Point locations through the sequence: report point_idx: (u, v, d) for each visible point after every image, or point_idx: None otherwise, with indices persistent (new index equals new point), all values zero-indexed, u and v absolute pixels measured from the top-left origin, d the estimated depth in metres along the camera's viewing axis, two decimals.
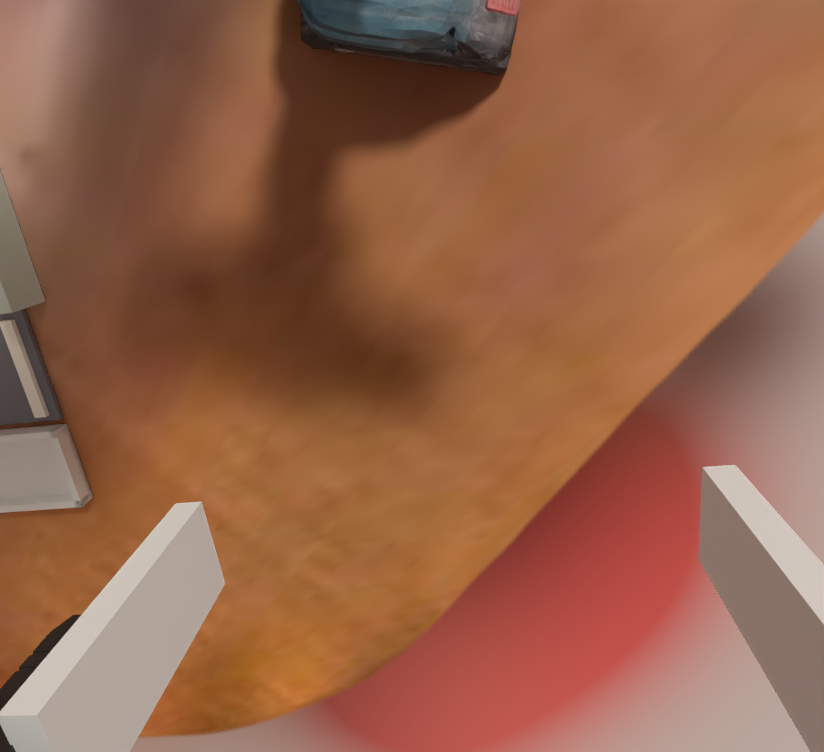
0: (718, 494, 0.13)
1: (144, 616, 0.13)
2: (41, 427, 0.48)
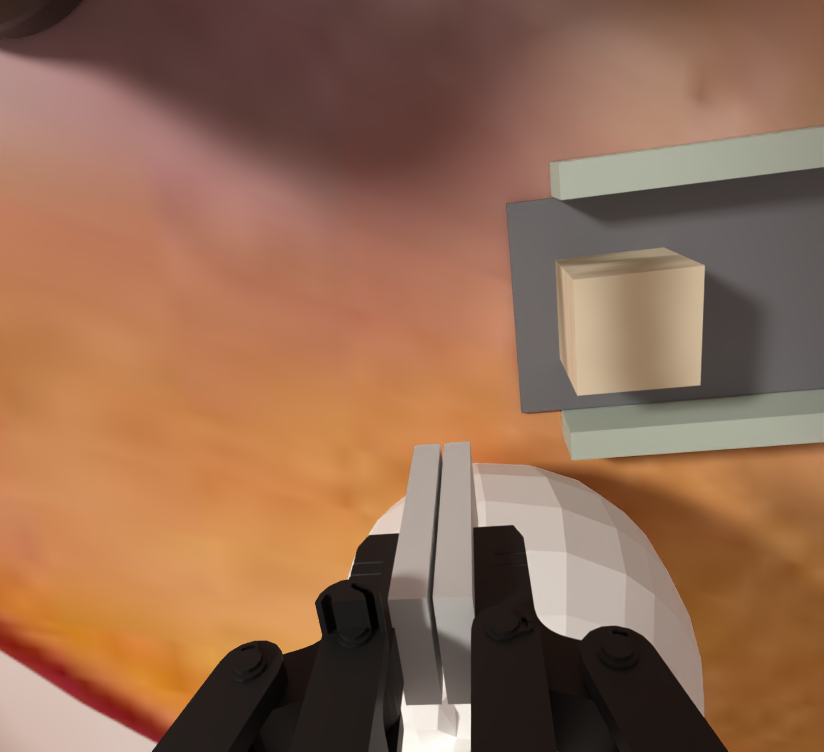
0: (443, 464, 0.16)
1: None
2: None
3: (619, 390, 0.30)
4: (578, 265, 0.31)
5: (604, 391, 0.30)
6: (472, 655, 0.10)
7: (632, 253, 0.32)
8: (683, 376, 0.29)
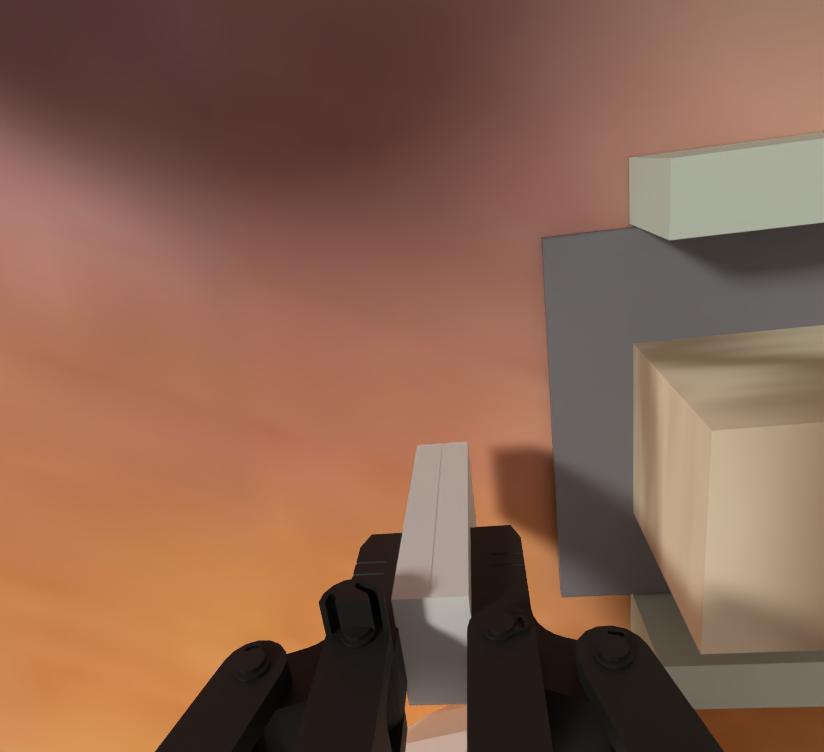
0: (441, 464, 0.16)
1: None
2: None
3: (793, 648, 0.14)
4: (693, 369, 0.15)
5: (760, 649, 0.14)
6: (468, 655, 0.10)
7: (791, 337, 0.16)
8: None
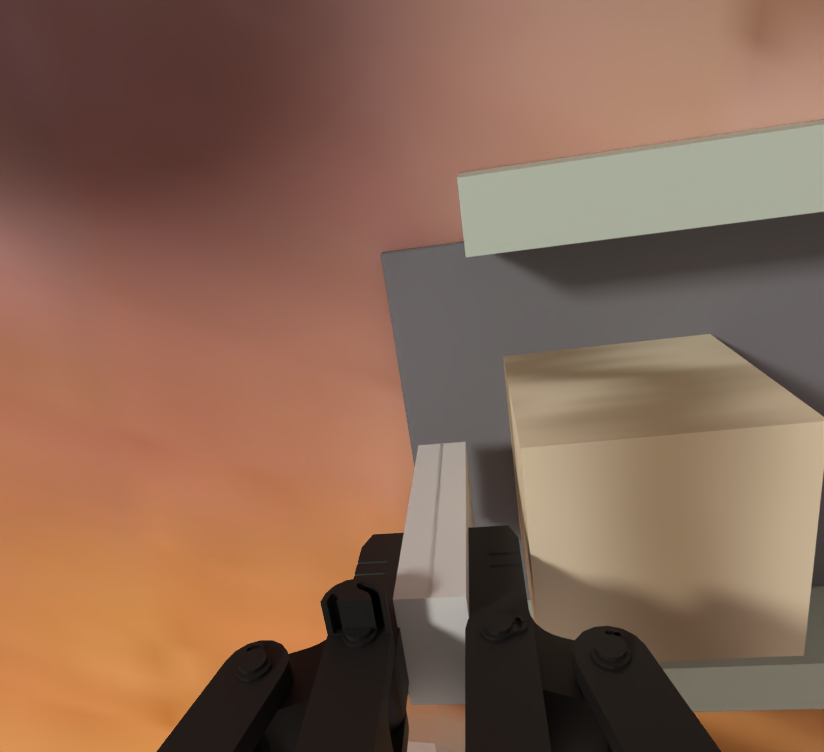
0: (439, 464, 0.16)
1: None
2: None
3: None
4: (541, 383, 0.15)
5: None
6: (467, 655, 0.10)
7: (649, 349, 0.17)
8: (767, 638, 0.13)
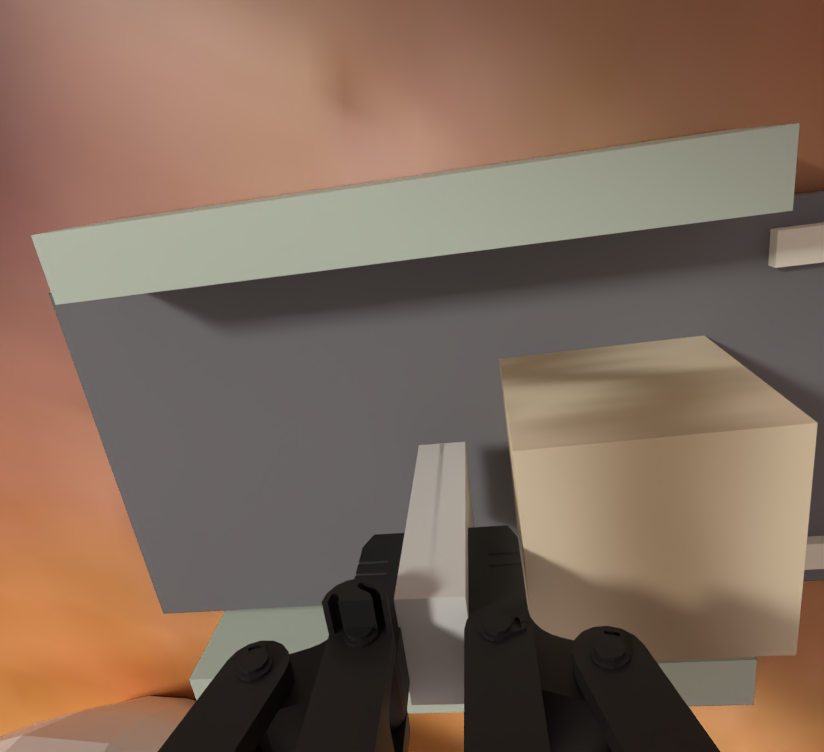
0: (438, 464, 0.16)
1: None
2: None
3: None
4: (536, 386, 0.16)
5: None
6: (466, 656, 0.10)
7: (643, 351, 0.17)
8: (760, 638, 0.14)
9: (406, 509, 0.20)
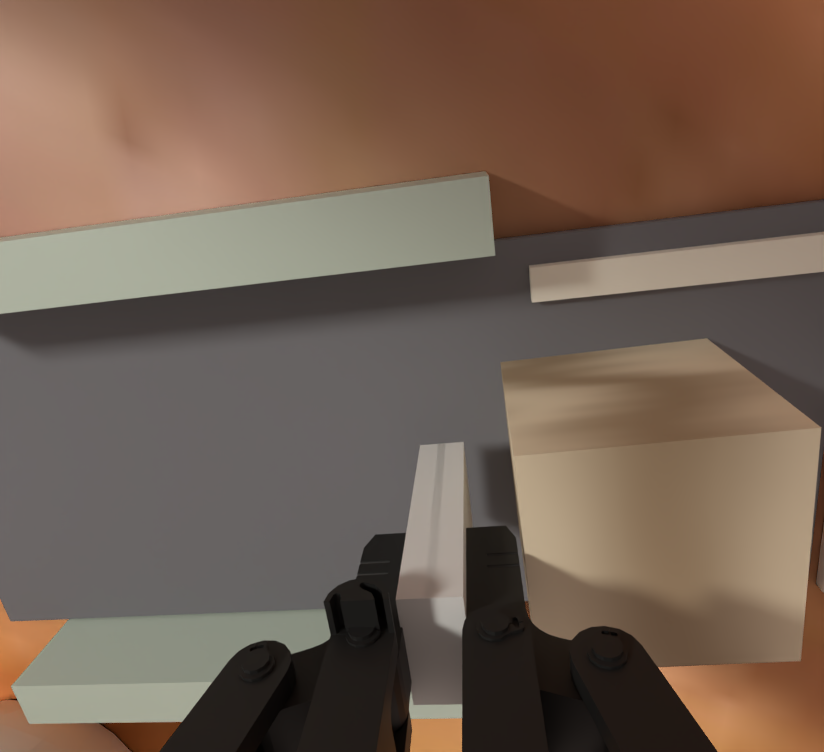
0: (437, 464, 0.16)
1: None
2: None
3: None
4: (537, 390, 0.16)
5: None
6: (464, 655, 0.10)
7: (646, 354, 0.17)
8: (764, 644, 0.13)
9: (225, 525, 0.21)
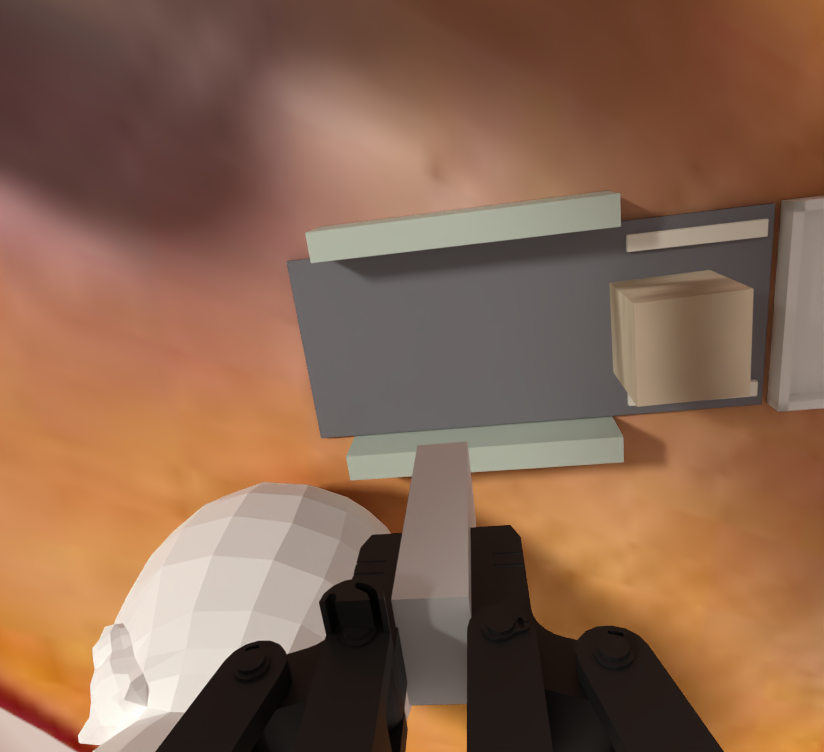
0: (441, 464, 0.16)
1: None
2: (782, 234, 0.35)
3: (675, 401, 0.33)
4: (633, 288, 0.34)
5: (661, 402, 0.33)
6: (468, 655, 0.10)
7: (681, 276, 0.36)
8: (734, 387, 0.32)
9: (455, 375, 0.40)
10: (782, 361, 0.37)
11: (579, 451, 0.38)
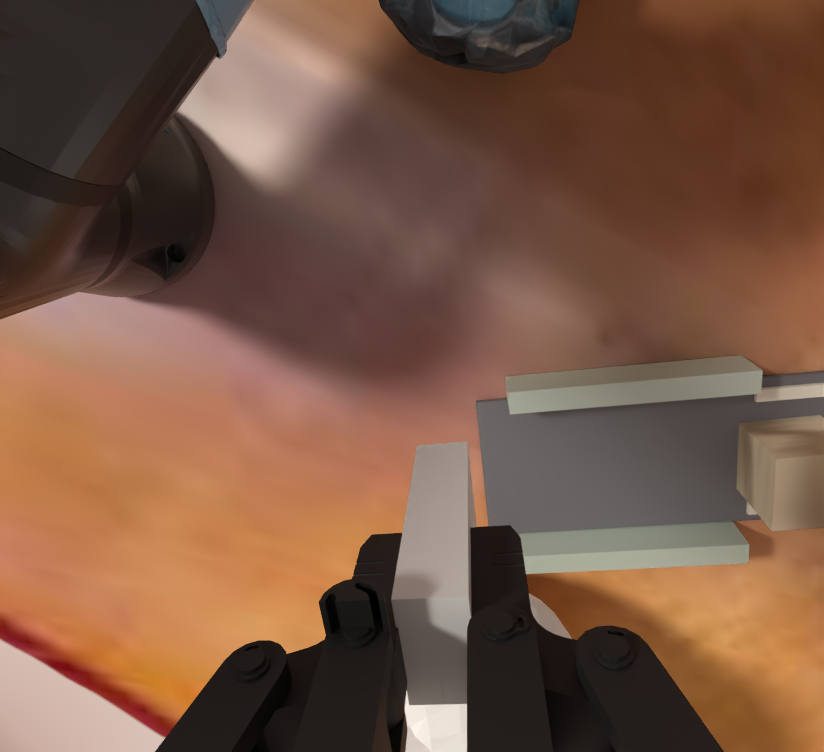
0: (441, 464, 0.16)
1: None
2: None
3: (802, 528, 0.43)
4: (765, 435, 0.44)
5: (791, 528, 0.43)
6: (468, 655, 0.10)
7: (799, 421, 0.45)
8: None
9: (607, 488, 0.50)
10: None
11: (713, 554, 0.47)
